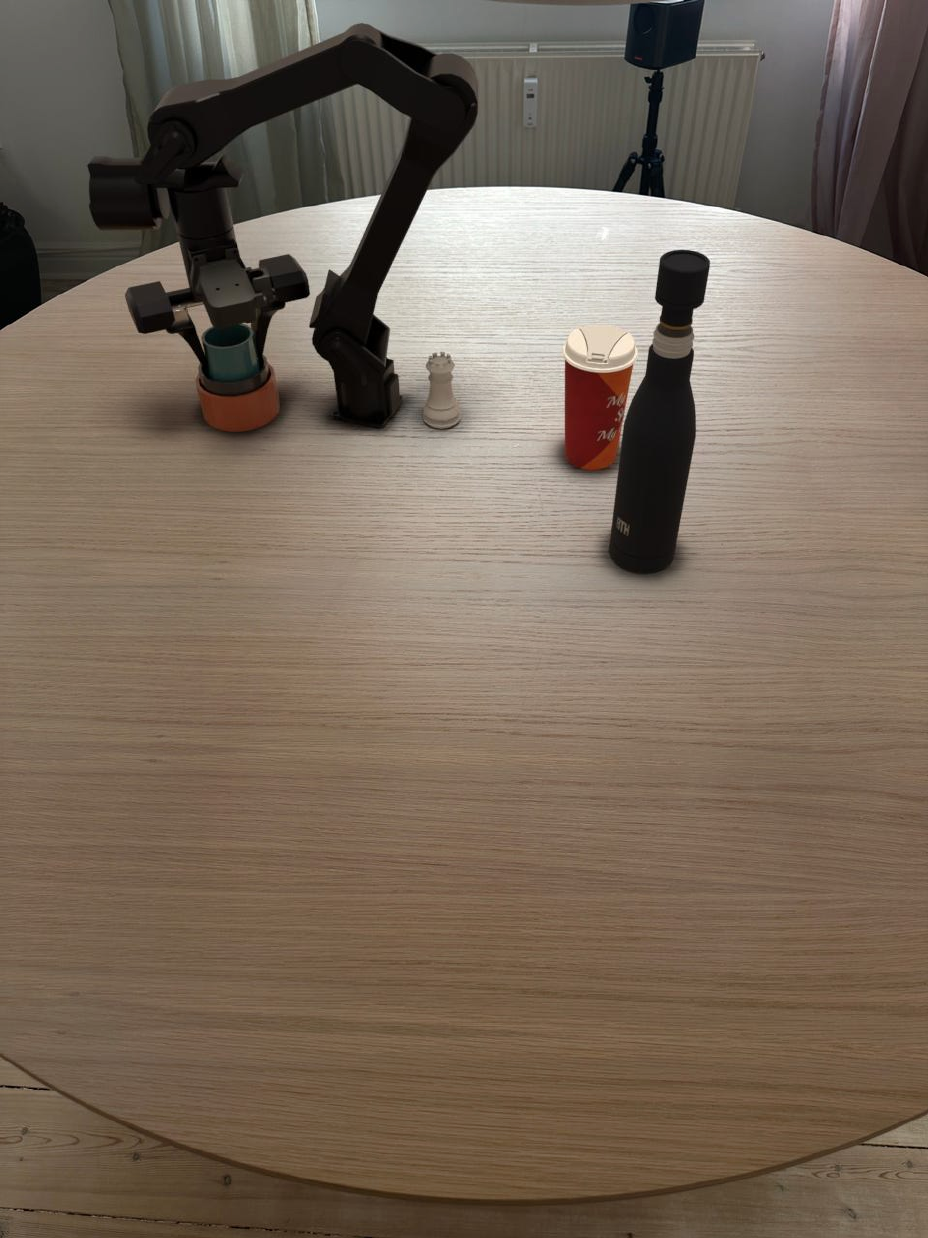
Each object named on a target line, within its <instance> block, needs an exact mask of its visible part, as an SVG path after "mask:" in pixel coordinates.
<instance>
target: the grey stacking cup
mask: <svg viewBox="0 0 928 1238" xmlns="http://www.w3.org/2000/svg"><path fill="white" fill-rule="evenodd" d="M267 362H268V359H267V357H266V356H265V355H264V354H263V356H262V358H260V359H259V364H260V369H261V370H260V371H259V372H258V373H257V374H255V375H254V376H252V377H250V378H247V379H244V380H240V381H234V382H220V381H215V380H211V379H210V375H209V371H205V369H204V368H203V366H202V365H201V363H200V362H199V364H198V366H197V367H198V369H197V370H198V373H199V375H200V380H201V384H202V388H203V389H204V390H205V391H207V392H209V393H211V394H214V395H218V396H239V395H245V394H248V393H251V392H254V391H256V390H258V389H260V388H261V387H263V386H264V385H265V384H266V383H267V382H268V381H269V380H270V375H269V369H268V363H269V362H268V363H267Z"/></svg>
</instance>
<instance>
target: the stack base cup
mask: <svg viewBox="0 0 928 1238" xmlns="http://www.w3.org/2000/svg"><path fill="white" fill-rule="evenodd" d="M267 363H268V369H269V375H270V380H269V381H268V382H267V383H266V384H265V385H264V386H263V387H261V388H260V389H258V390H256V391H254V392H251V393H248V394H245V395H239V396H218V395H214V394H211V393H209V392H207V391H205V390H204V389H203V388H202V384H201V380H200V375H199V372H198V373H197V375H196V377H195V385H196V391H197V395H198V399H199V403H200V407H201V412H202V416H203V418H204V421H205V422H206V423H207V424H208V425H209V426H211V427H212V428H214V429H217V430H220V431H224V432H229V433H230V432H233V433H235V432H236V433H238V432H248V431H252V430H256V429H259V428H261V427H264V426H265V425H268V424H269V423H271V421H273V420H274V419H275V418H276V417H277V416H278V414H279V412H280V408H281V402H280V397H279V390H278V384H277V379H276V374H275V369H274V368H273V366H272V365H271V363H269V362H268V361H267Z"/></svg>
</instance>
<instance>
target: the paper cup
mask: <svg viewBox="0 0 928 1238" xmlns="http://www.w3.org/2000/svg"><path fill="white" fill-rule="evenodd" d="M561 354H562V357H563V359H564V454H565V458H566V460H567V462H568V463H569V464H570V465H572V466H574V467H576V468H578V469H581V470H587V471H597V470H603V469H606V468H608V467H610V466H611V465H612V464H613V463H614V462H615V461H616V456H617V453H618V448H619V445H620V443H619V442H620V439H621V433H622V428H623V424H624V417H625V413H626V406H627V402H628V395H629V391H630V386H631V380H632V375H633V369H634V364H635V363H636V361H637V360H638V357H639V351H638V347H636V341H635V339H634V337H633V335H632V334H631V333H630V332H628V331H627V330H625V329H622V328H621V327H617V326H614V325H609V324H589V325H584V326H581V327H578V328H576V329H574V330H572V331H571V332H570V334H569V335H568V336H567V338H566V342H565V343H564V344H563V346H562V348H561Z"/></svg>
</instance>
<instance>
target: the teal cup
mask: <svg viewBox="0 0 928 1238" xmlns="http://www.w3.org/2000/svg"><path fill="white" fill-rule="evenodd" d="M200 341H201V345H202V348H203V351H204V353H205V356H206V358H207V362H208V367H209V375H210V379H211V380H215V381H220V382H234V381H240V380H244V379H247V378H250V377H252V376H254V375H255V374H257V373H258V372H259V371H260V370H261V369H260V364H259V359H258V353H257V348H256V342H255V337H254V332H253V330H252V328H251V326H249V324H246V323H242V324H237V325H233V326H229V327H228V328H226V329H217V328H215V327H213V326H212V325H211V326H210V327H208V328H206V330H205V331H203V333H202V334H201V337H200Z"/></svg>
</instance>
